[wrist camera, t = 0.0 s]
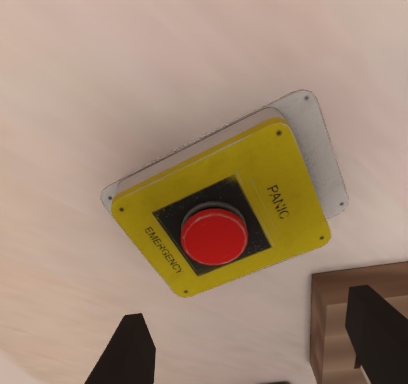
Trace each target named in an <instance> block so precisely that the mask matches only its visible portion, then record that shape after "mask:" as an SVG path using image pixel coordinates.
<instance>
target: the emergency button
mask: <svg viewBox="0 0 408 384" xmlns="http://www.w3.org/2000/svg"><path fill="white" fill-rule="evenodd" d="M348 199H349V198H348V195H347V192H346V189H345V186H344V183H343V179H342V176H341V173H340V170H339V167H338V164H337V160H336V157H335V154H334V151H333V148H332V145H331V141H330V138H329V135H328V132H327V129H326V126H325V122H324V119H323V116H322V113H321V110H320V107H319V104H318V100H317V98H316V97H315V96H314V94H313V93H312V92H310V91H306V90H299V91H295V92H292V93H290V94H288V95H286V96H284V97H282V98H280V99H278V100H276V101H274V102H272V103H270V104H268V105H266V106H264V107H262V108H260V109H258V110H256V111H255V112H253V113H251V114H249V115H247V116H245V117H243V118H241V119H239V120H237V121H235V122H233V123H231V124H229V125H227V126H225V127H223V128H221V129H219V130H217V131H215V132H213V133H211V134H209V135H207V136H205V137H203V138H201V139H199V140H197V141H195V142H193V143H192V144H190V145H188V146H186V147H184V148H182V149H180V150H178V151H176V152H174V153H172V154H170V155H168V156H166V157H164V158H162V159H160V160H158V161H156V162H154V163H152V164H150V165H148V166H146V167H144V168H142V169H140V170H138V171H136V172H134V173H132V174H130V175H129V176H127V177H125V178H123V179H121V180H119V181H117V182H115V183H113V184H111V185H109V186H108V187H106V188H105V189H104V190H103V191H102V194H101V201H102V203H103V205H104V206H105V208H106V209H107V210H108V211H109V213H110V214H111V215H112V216H113V218H114V219H115V220H116V221H117V223H118V224H119V225H120V226H121V228H122V229H123V230H124V231H125V233H126V234H127V235H128V236H129V238H130V239H131V240H132V241H133V243H134V244H135V245H136V246H137V248H138V249H139V250H140V251H141V252H142V254H143V255H144V256H145V257H146V259H147V260H148V261H149V262H150V264H151V265H152V266H153V267H154V269H155V270H156V271H157V272H158V274H159V275H160V276H161V277H162V279H163V280H164V281H165V282H166V284H167V285H168V286H169V287H170V289H171V290H172V291H173V292H174V293H175V294H176V295H178V296H180V297H191V296H193V295H196V294H198V293H201V292H204V291H206V290H209V289H212V288H214V287H217V286H219V285H222V284H225V283H227V282H230V281H233V280H235V279H238V278H240V277H243V276H246V275H248V274H251V273H253V272H256V271H259V270H261V269H264V268H267V267H269V266H272V265H274V264H277V263H280V262H282V261H285V260H288V259H290V258H293V257H295V256H298V255H301V254H303V253H306V252H309V251H311V250H314V249H316V248H319V247H322V246H323V245H325V244H326V243H328V241H329V239H330V237H331V234H330V229H329V226H328V224H327V221H326V219H328V218H331V217H333V216H336V215H337V214H339V213H341V212H342V211H344V209H345V208H346V207H347V205H348Z"/></svg>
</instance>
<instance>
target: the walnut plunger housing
mask: <svg viewBox="0 0 408 384" xmlns="http://www.w3.org/2000/svg"><path fill="white" fill-rule="evenodd" d="M361 285H369V286H370V287H371V288H373V289H374V290H375V291H376V292H377V293H378V294H379V295H381V296H382V297H383V298H384V299H385V300H386V301H387V302H389V303H390V304H391V305H392V306H393V307H394V308H395V309H397V310H398V311H399V312H400V313H401V314H402V315H404V316H405V317H406V318H407V319H408V262H402V263H395V264H387V265H379V266H372V267H364V268H356V269H349V270H341V271H333V272H326V273H318V274H312V296H311V336H310V364H311V367H312V370H313V373H314V376H315V378H316V381H317V384H368V383H367V381H366V379H365V377H364V375H363V373H362V370H361V363H360V362H359V360H358V358H357V355H356V353H355V350H354V348H353V346H352V343H351V341H350V338H349V336H348V333H347V331H346V328H345V320H346V311H347V302H348V293H349V287H353V286H361Z"/></svg>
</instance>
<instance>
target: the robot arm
mask: <svg viewBox="0 0 408 384" xmlns="http://www.w3.org/2000/svg"><path fill="white" fill-rule="evenodd" d="M345 328H346V331H347V333H348V336H349V338H350V341H351V343H352V346H353V348H354V350H355V353H356V355H357V358H358V360H359V362H360V363H361V365H362V367H363V369H364V371H365V373H366V375H367V377H368V379H369V381H370V382H371V384H408V319H407V318H406V317H405V316H404V315H402V314H401V313H400V312H399V311H398V310H397V309H395V308H394V307H393V306H392V305H391V304H390V303H389V302H387V301H386V300H385V299H384V298H383V297H382V296H381V295H379V294H378V293H377V292H376V291H375V290H374V289H373V288H371V287H370V286H369V285H361V286H353V287H349V293H348V302H347V311H346V320H345ZM155 352H156V348H155V346H154V343H153V341H152V338H151V335H150V333H149V330H148V328H147V325H146V323H145V320H144V318H143V315H142V313H139V314H131V315H125V316H124V317H123V319H122V320H121V322H120V324H119V326H118V327H117V329H116V331H115V333H114V335H113V336H112V338H111V340H110V342H109V343H108V345H107V347H106V349H105V350H104V352H103V354H102V355H101V357H100V359H99V361H98V362H97V364H96V365H95V367H94V369H93V370H92V372H91V374H90V375H89V377H88V379H87V380H86V382H85V383H84V384H153V383H154V370H155Z"/></svg>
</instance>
